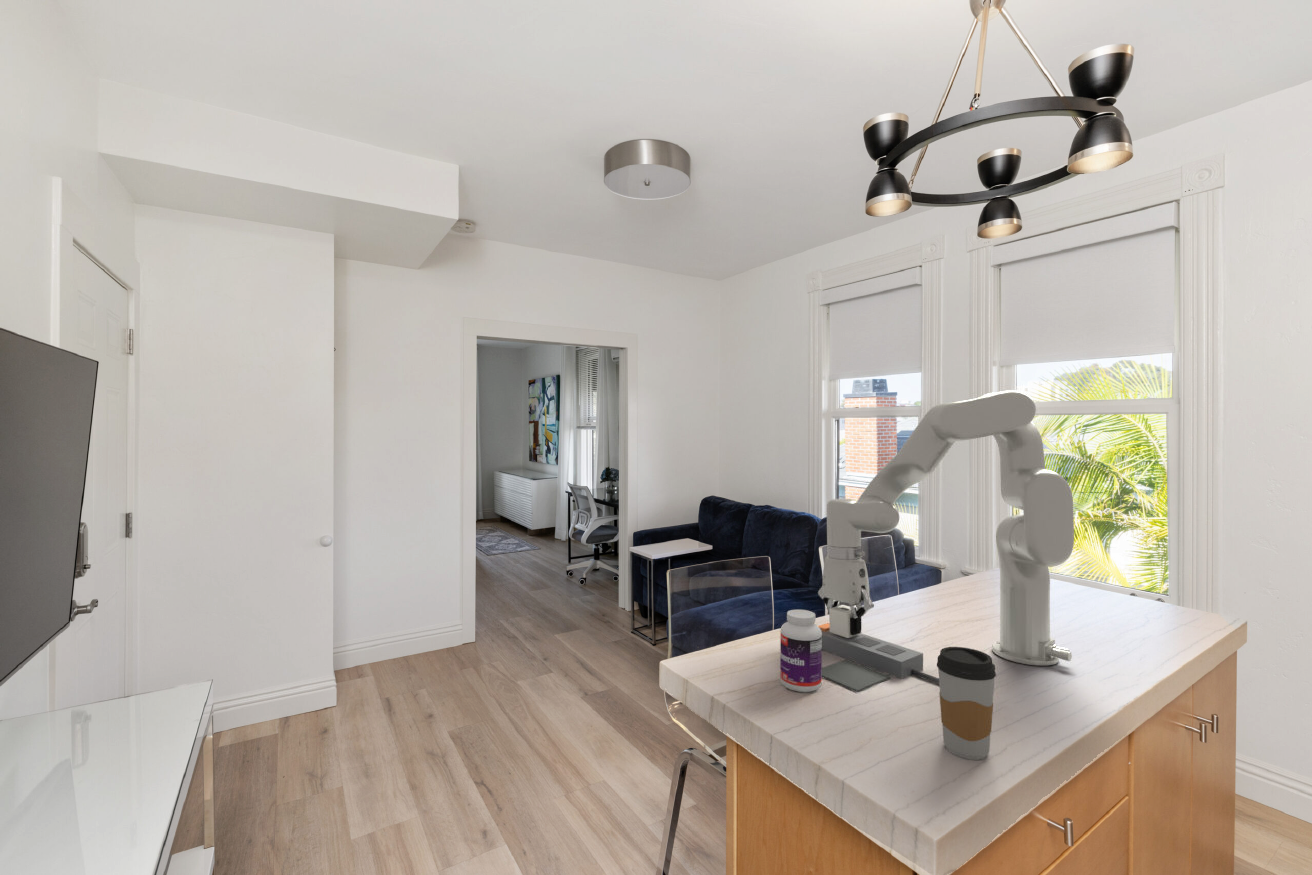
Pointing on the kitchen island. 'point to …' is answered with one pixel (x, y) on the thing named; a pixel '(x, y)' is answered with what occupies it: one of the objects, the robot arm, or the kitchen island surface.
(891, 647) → the power strip
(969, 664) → the coffee cup
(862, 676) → the mat
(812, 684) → the pill bottle
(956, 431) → the robot arm
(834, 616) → the block
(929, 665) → the kitchen island surface
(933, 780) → the kitchen island surface
